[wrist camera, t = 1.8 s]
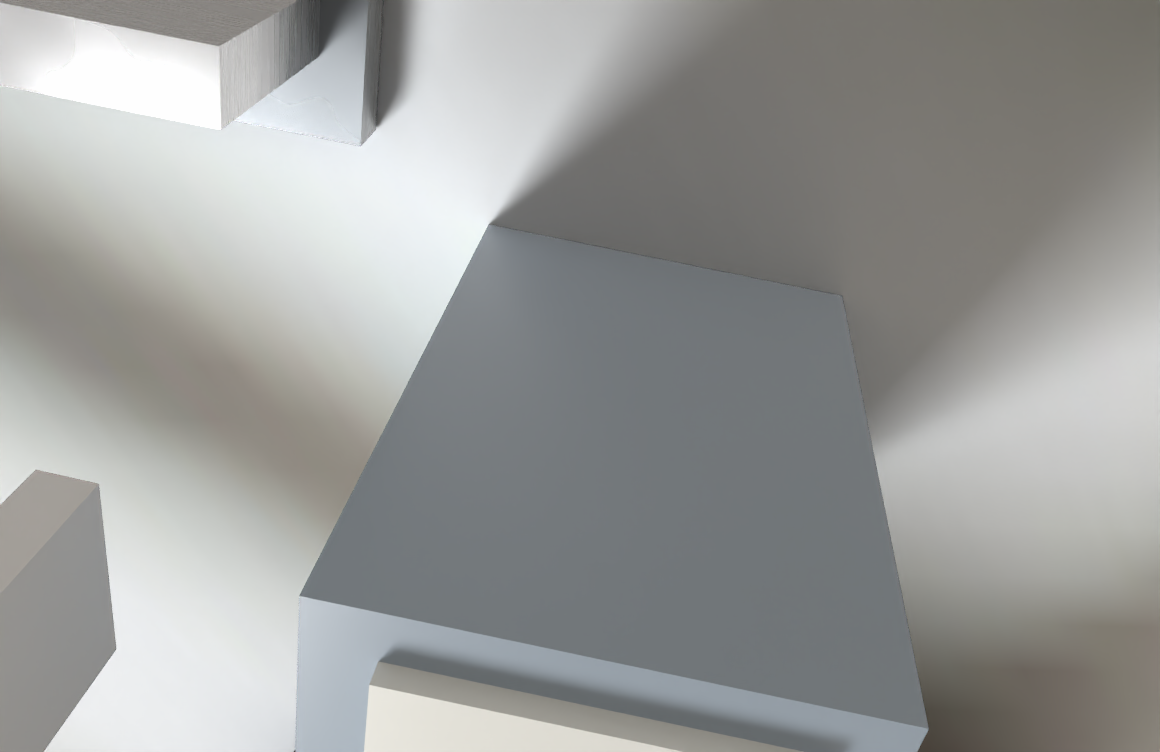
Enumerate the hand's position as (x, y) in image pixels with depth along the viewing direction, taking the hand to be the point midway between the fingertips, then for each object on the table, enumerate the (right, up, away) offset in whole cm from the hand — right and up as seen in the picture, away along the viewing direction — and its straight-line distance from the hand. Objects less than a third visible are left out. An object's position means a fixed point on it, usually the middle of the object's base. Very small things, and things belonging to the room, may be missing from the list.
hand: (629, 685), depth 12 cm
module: (0, +4, +6) cm, 7 cm away
